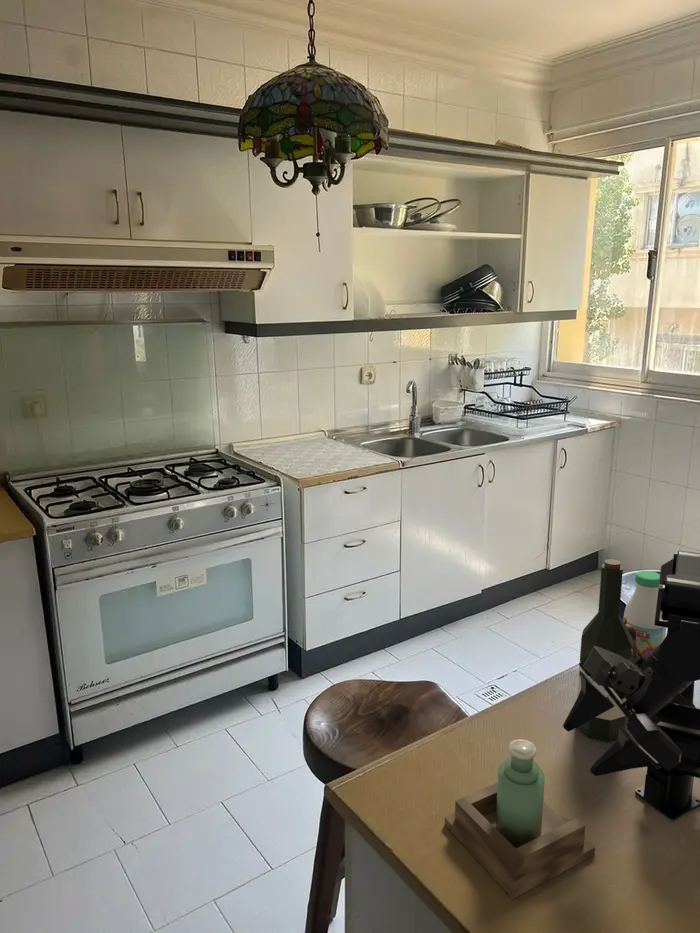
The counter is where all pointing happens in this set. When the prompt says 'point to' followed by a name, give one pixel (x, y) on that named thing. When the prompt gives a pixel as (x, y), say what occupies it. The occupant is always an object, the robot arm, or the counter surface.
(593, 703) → the robot arm
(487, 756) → the counter surface
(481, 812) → the bottle rest
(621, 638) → the wine bottle
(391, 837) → the counter surface
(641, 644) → the milk bottle
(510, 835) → the green bottle
